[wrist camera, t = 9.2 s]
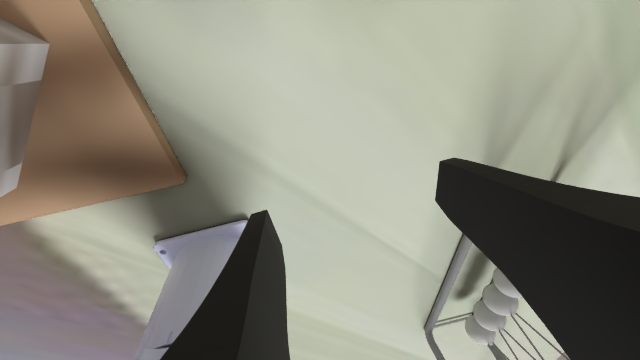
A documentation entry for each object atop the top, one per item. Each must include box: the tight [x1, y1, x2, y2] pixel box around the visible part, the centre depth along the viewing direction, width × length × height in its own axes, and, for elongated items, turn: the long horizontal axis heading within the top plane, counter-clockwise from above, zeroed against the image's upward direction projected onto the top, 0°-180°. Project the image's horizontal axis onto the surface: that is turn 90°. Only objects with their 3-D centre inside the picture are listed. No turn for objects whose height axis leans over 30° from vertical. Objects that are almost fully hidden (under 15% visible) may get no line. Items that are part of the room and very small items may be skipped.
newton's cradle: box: [425, 235, 569, 360], centre depth 26 cm, size 30×10×18 cm, turn 1°
